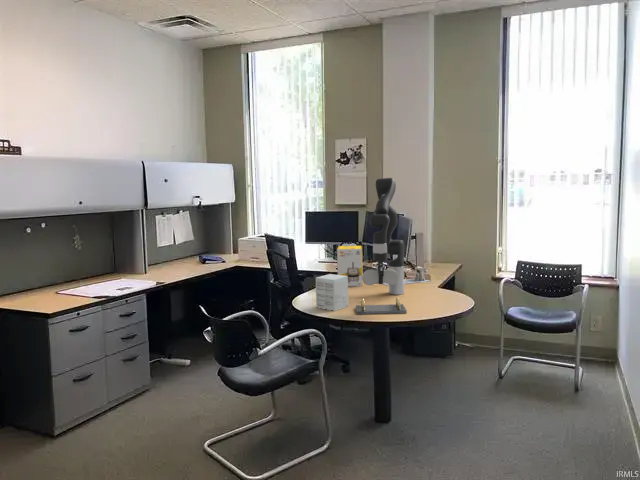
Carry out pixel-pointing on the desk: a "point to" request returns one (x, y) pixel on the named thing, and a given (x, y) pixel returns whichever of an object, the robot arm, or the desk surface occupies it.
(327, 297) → the supplement box
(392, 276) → the grey piece
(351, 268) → the packaging box
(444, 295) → the desk surface
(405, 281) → the monument
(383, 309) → the standoff plate
